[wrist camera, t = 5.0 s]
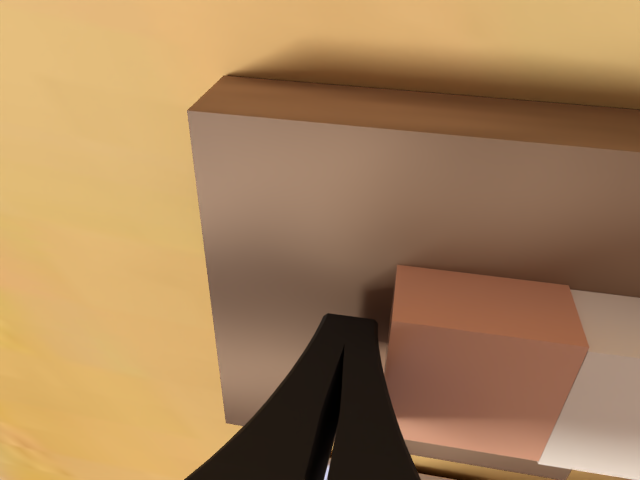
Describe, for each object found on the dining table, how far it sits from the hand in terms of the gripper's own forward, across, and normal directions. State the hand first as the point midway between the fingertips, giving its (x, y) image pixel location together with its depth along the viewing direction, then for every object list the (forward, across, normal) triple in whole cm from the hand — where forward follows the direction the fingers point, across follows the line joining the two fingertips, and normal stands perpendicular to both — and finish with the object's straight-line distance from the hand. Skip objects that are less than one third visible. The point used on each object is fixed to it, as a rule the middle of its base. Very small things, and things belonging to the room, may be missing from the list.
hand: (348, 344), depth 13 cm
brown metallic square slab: (+3, -2, 0) cm, 4 cm away
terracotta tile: (+1, -3, 0) cm, 3 cm away
